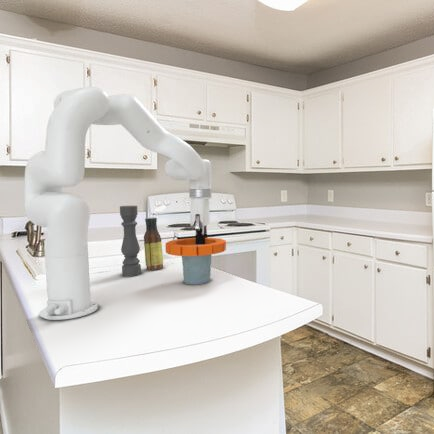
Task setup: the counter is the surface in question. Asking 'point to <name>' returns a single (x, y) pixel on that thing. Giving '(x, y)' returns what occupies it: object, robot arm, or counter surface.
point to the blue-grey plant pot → (196, 269)
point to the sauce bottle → (153, 245)
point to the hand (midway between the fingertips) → (201, 245)
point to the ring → (195, 247)
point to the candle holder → (130, 242)
